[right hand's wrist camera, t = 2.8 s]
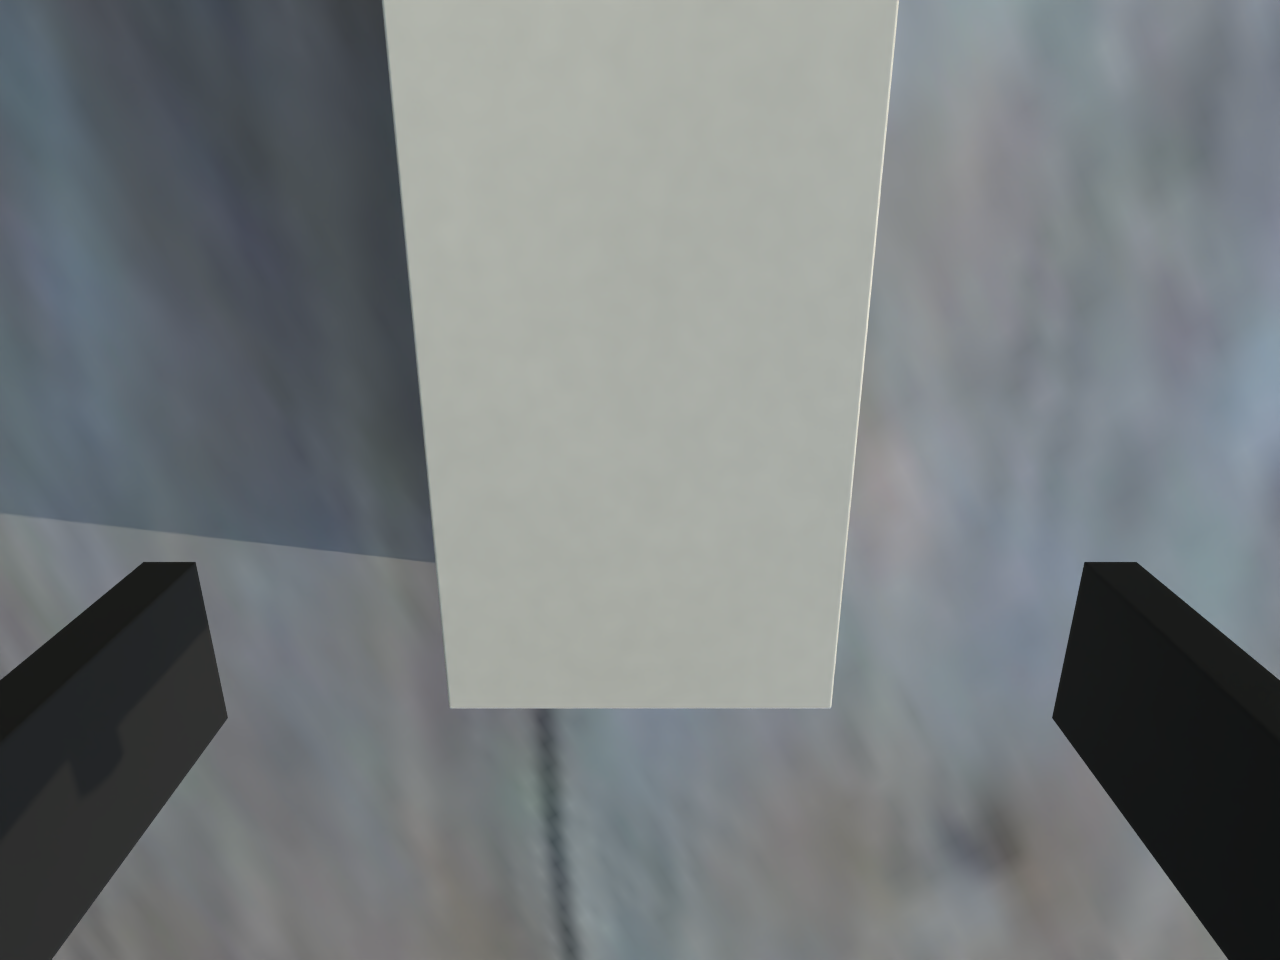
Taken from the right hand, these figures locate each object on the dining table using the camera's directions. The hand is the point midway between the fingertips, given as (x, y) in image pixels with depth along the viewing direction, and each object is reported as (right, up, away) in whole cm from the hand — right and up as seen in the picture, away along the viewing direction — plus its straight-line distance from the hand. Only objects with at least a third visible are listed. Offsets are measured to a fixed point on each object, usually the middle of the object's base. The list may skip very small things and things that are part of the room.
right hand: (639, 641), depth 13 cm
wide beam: (0, +32, +3) cm, 32 cm away
